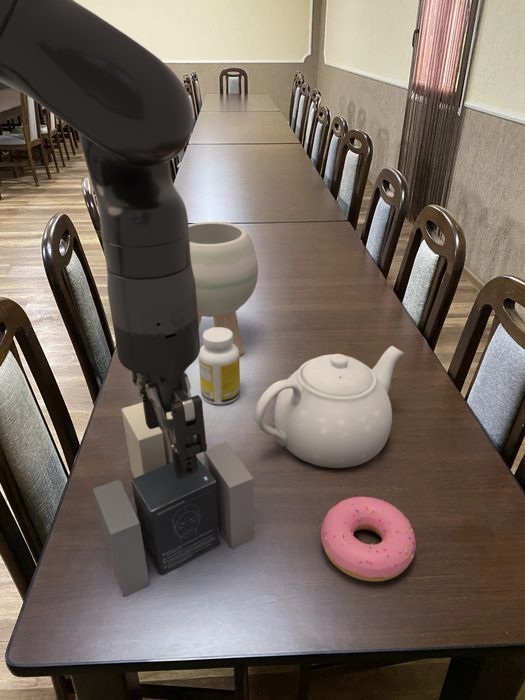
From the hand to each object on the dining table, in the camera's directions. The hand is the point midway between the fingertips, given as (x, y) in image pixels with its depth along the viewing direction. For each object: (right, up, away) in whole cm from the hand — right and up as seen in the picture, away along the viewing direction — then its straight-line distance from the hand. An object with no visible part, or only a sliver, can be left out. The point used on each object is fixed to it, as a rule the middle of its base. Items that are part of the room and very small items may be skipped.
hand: (170, 448), depth 56 cm
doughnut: (+22, -13, +8) cm, 27 cm away
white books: (-4, -7, +17) cm, 19 cm away
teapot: (+20, -3, +25) cm, 32 cm away
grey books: (0, -13, +8) cm, 15 cm away
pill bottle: (+3, +3, +34) cm, 34 cm away
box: (0, -13, +8) cm, 15 cm away
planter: (+1, +11, +47) cm, 49 cm away
